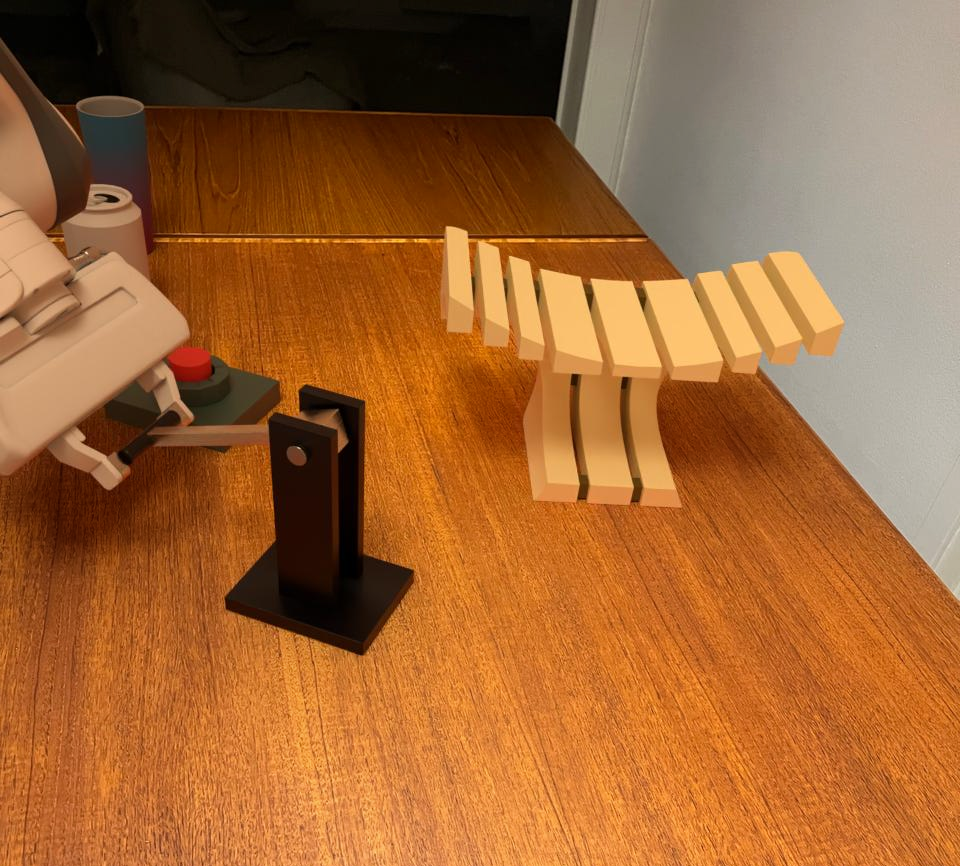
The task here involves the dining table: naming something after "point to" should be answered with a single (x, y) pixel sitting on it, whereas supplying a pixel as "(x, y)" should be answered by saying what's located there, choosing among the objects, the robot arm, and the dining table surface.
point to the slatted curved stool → (627, 355)
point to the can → (109, 227)
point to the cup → (119, 149)
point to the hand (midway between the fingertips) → (154, 453)
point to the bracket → (320, 535)
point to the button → (190, 364)
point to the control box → (204, 400)
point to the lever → (218, 433)
